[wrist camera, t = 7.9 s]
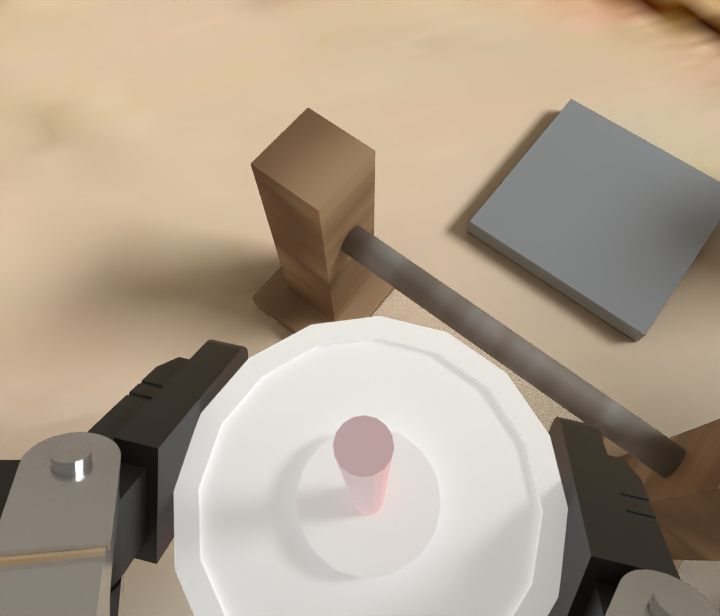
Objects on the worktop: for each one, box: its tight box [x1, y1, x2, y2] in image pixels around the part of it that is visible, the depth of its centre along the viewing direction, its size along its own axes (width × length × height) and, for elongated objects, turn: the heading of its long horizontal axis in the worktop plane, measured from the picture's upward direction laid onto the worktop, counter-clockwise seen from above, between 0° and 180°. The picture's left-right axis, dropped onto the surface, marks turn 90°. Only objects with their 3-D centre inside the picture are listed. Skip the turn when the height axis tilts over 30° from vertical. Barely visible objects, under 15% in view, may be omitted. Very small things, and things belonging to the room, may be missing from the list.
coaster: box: [467, 99, 720, 342], centre depth 31 cm, size 10×10×1 cm
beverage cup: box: [174, 316, 568, 616], centre depth 11 cm, size 6×6×14 cm
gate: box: [251, 108, 720, 570], centre depth 23 cm, size 22×6×11 cm, turn 52°
